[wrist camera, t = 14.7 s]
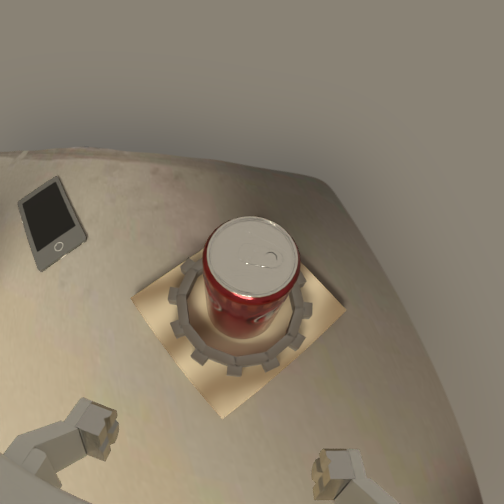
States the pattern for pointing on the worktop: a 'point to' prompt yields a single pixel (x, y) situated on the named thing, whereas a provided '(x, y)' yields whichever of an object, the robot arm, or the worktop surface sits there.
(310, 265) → the worktop surface
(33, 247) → the smartphone
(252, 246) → the soda can
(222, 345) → the ring board
